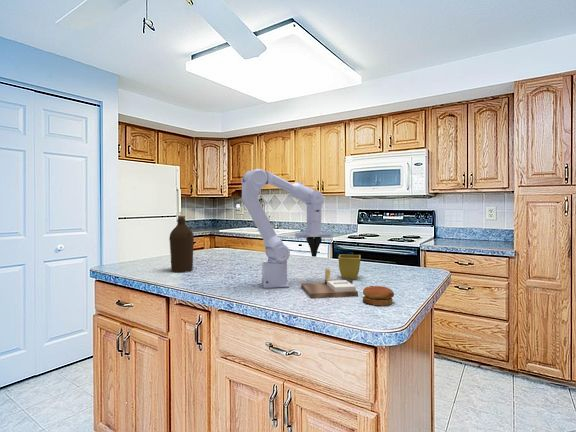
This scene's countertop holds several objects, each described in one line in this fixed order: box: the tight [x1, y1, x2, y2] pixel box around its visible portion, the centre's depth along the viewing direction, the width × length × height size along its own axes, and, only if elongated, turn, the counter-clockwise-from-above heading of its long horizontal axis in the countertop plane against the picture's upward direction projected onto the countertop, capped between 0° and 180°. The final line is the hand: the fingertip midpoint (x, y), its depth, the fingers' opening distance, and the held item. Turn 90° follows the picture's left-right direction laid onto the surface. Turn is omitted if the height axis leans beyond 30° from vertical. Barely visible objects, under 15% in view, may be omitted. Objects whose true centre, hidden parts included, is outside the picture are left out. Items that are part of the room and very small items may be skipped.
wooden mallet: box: [324, 267, 354, 285], centre depth 130 cm, size 4×10×5 cm, turn 87°
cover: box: [327, 279, 357, 292], centre depth 123 cm, size 7×10×2 cm
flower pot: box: [337, 254, 362, 280], centre depth 147 cm, size 9×9×9 cm
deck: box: [300, 282, 359, 299], centre depth 124 cm, size 16×15×2 cm
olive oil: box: [168, 215, 195, 273], centre depth 163 cm, size 11×11×25 cm
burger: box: [362, 285, 395, 307], centre depth 111 cm, size 10×9×5 cm
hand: (313, 256), depth 140 cm, fingers closed
